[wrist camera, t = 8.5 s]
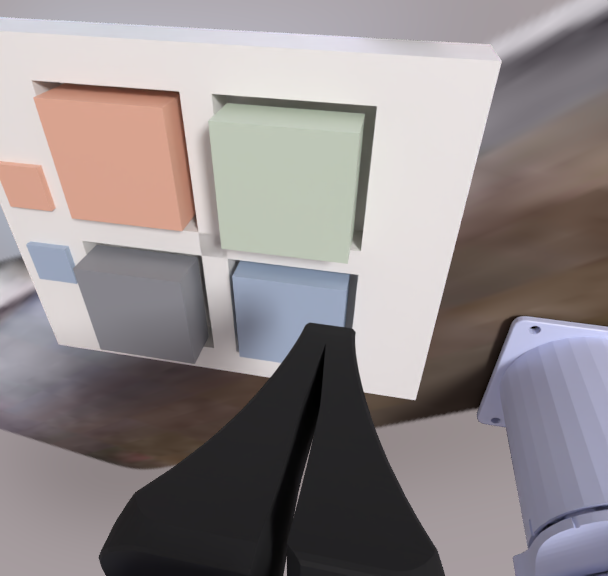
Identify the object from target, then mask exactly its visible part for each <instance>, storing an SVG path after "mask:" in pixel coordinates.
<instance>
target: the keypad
mask: <svg viewBox="0 0 608 576" xmlns="http://www.w3.org/2000/svg"><path fill="white" fill-rule="evenodd" d="M501 62H502V61H501V59H500V58H499V56H498V55H497V53H496V52H495V50H494V49H493V47H492V46H491V45H490V44H472V43H455V42H437V41H419V40H400V39H382V38H365V37H347V36H329V35H311V34H292V33H275V32H258V31H240V30H239V31H238V30H222V29H204V28H185V27H168V26H151V25H132V24H131V25H130V24H115V23H114V24H113V23H97V22H78V21H61V20H43V19H25V18H7V17H0V205H1V207H2V210H3V212H4V214H5V216H6V219H7V222H8V224H9V226H10V229H11V231H12V234H13V236H14V238H15V241H16V243H17V246H18V248H19V250H20V253H21V255H22V258H23V260H24V262H25V265H26V267H27V270H28V272H29V274H30V277H31V279H32V282H33V284H34V286H35V289H36V291H37V294H38V296H39V298H40V301H41V303H42V306H43V308H44V310H45V313H46V315H47V318H48V320H49V322H50V325H51V327H52V330H53V332H54V334H55V337H56V339H57V342H58V344H59V345H65V346H71V347H78V348H84V349H90V350H97V351H103V352H110V353H116V354H122V355H129V356H135V357H142V358H148V359H155V360H161V361H167V362H174V363H180V364H187V365H193V366H199V367H206V368H212V369H219V370H225V371H231V372H238V373H244V374H251V375H257V376H263V377H271V376H272V375H273V374H274V372H275V371H276V370H277V368H278V367H279V366H280V364H281V363H278V362H271V361H265V360H258V359H252V358H245V357H240V355H239V344H238V333H237V322H236V312H235V301H234V290H233V279H232V276H233V274H234V272H235V270H236V268H237V266H238V264H239V262H240V260H242V261H250V262H258V263H266V264H274V265H282V266H290V267H298V268H307V269H315V270H323V271H331V272H339V273H347V274H350V284H349V294H348V304H347V314H346V325H345V327H346V328H352V329H353V330H354V331H355V332H356V334H355V348H356V357H357V364H358V369H359V374H360V379H361V383H362V387H363V391H364V392H366V393H372V394H379V395H385V396H392V397H398V398H404V399H411V400H416V396H417V392H418V389H419V385H420V381H421V377H422V373H423V369H424V365H425V361H426V357H427V353H428V349H429V345H430V341H431V337H432V333H433V329H434V326H435V322H436V318H437V314H438V310H439V306H440V302H441V298H442V294H443V290H444V286H445V282H446V278H447V274H448V270H449V267H450V263H451V259H452V255H453V251H454V247H455V243H456V239H457V235H458V231H459V227H460V223H461V219H462V215H463V211H464V208H465V204H466V200H467V196H468V192H469V188H470V184H471V180H472V176H473V172H474V168H475V164H476V160H477V156H478V152H479V148H480V145H481V141H482V137H483V133H484V129H485V125H486V121H487V117H488V113H489V109H490V105H491V101H492V97H493V93H494V89H495V86H496V82H497V78H498V74H499V70H500V66H501ZM64 83H68V84H82V85H95V86H108V87H122V88H135V89H148V90H161V91H175V92H179V93H180V100H181V108H182V115H183V122H184V130H185V137H186V144H187V152H188V159H189V166H190V174H191V181H192V188H193V196H194V203H195V210H196V214H195V215H194V217H193V218H192V219H191V221H190V222H189V223H188V224H187V226H186V227H185V228H184V230H183V231H175V230H167V229H158V228H150V227H141V226H132V225H124V224H115V223H107V222H98V221H90V220H81V219H72V217H71V214H70V211H69V208H68V205H67V202H66V199H65V196H64V193H63V189H62V186H61V183H60V180H59V177H58V174H57V171H56V168H55V164H54V161H53V158H52V155H51V152H50V149H49V146H48V143H47V139H46V136H45V133H44V130H43V127H42V124H41V121H40V118H39V114H38V111H37V108H36V105H35V102H34V99H33V97H35V96H37V95H40V94H42V93H44V92H46V91H49V90H51V89H53V88H55V87H58V86H60V85H62V84H64ZM227 103H232V104H245V105H258V106H271V107H284V108H297V109H310V110H323V111H336V112H348V113H361V114H365V118H364V128H363V139H362V149H361V159H360V170H359V180H358V191H357V201H356V211H355V222H354V232H353V239H352V245H351V250H350V255H349V260H348V264H345V263H336V262H328V261H320V260H311V259H303V258H295V257H287V256H278V255H270V254H262V253H253V252H245V251H237V250H228V249H221V239H220V230H219V220H218V211H217V201H216V191H215V182H214V172H213V163H212V153H211V144H210V134H209V124H208V120H210V119H211V118H212V117H213V116H214V115H215V114H216V113H217V112H218V111H219V110H220V109H221V108H222V107H223V106H224V105H225V104H227ZM96 245H104V246H112V247H120V248H128V249H136V250H144V251H152V252H160V253H169V254H177V255H185V256H193V257H197V258H198V265H199V272H200V279H201V286H202V293H203V300H204V306H205V313H206V320H207V327H208V334H209V337H208V339H207V341H206V343H205V345H204V347H203V349H202V351H201V353H200V355H199V357H198V359H197V361H196V363H195V364H191V363H185V362H179V361H172V360H166V359H159V358H153V357H146V356H140V355H134V354H127V353H121V352H114V351H108V350H101V349H100V346H99V343H98V340H97V337H96V334H95V332H94V329H93V326H92V323H91V320H90V317H89V314H88V311H87V308H86V305H85V302H84V300H83V297H82V294H81V291H80V288H79V285H78V282H77V279H76V276H75V273H74V271H73V268H74V267H75V266H76V265H77V264H78V263H79V262H80V261H81V260H82V259H83V258H84V257H85V256H86V255H87V254H88V253H89V252H90V251H91V250H92V249H93V248H94V247H95V246H96Z"/></svg>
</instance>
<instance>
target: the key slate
mask: <svg viewBox="0 0 608 576" xmlns="http://www.w3.org/2000/svg"><path fill="white" fill-rule="evenodd" d="M232 279H233V290H234V301H235V312H236V322H237V333H238V344H239V355H240V357H245V358H252V359H258V360H265V361H271V362H278V363H282V362H283V360H284V359H285V358H286V356H287V355H288V353H289V352H290V350H291V349H292V347H293V346H294V344H295V343H296V341H297V340H298V338H299V336H300V334H301V333H302V331H303V329H304V327H305V325H306V324H308V323H309V322H310V323H317V324H325V325H332V326H339V327H345V325H346V314H347V304H348V294H349V284H350V274H347V273H339V272H331V271H323V270H315V269H307V268H298V267H290V266H282V265H274V264H266V263H258V262H250V261H242V260H240V262H239V264H238V266H237V268H236V270H235V272H234V274H233V276H232Z"/></svg>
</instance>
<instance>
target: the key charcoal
mask: <svg viewBox="0 0 608 576" xmlns="http://www.w3.org/2000/svg"><path fill="white" fill-rule="evenodd" d="M73 271H74V273H75V276H76V279H77V282H78V285H79V288H80V291H81V294H82V297H83V300H84V302H85V305H86V308H87V311H88V314H89V317H90V320H91V323H92V326H93V329H94V332H95V334H96V337H97V340H98V343H99V346H100V349H101V350H108V351H114V352H121V353H127V354H134V355H140V356H146V357H153V358H159V359H166V360H172V361H179V362H185V363H191V364H195V363H196V361H197V359H198V357H199V355H200V353H201V351H202V349H203V347H204V345H205V343H206V341H207V339H208V337H209V334H208V327H207V320H206V313H205V306H204V300H203V293H202V286H201V279H200V272H199V265H198V258H197V257H193V256H185V255H177V254H169V253H160V252H152V251H144V250H136V249H128V248H120V247H112V246H104V245H96V246H95V247H94V248H93V249H92V250H91V251H90V252H89V253H88V254H87V255H86V256H85V257H84V258H83V259H82V260H81V261H80V262H79V263H78V264H77V265H76V266H75V267H74V268H73Z"/></svg>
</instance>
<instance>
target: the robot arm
mask: <svg viewBox="0 0 608 576" xmlns="http://www.w3.org/2000/svg"><path fill="white" fill-rule="evenodd" d="M533 326H538V327H537V328H535V329H531V327H533ZM355 334H356V332H355V331H354V330H353V329H352V328H346V327H339V326H332V325H325V324H317V323H310V322H309V323H308V324H306V325H305V327H304V329H303V331H302V333H301V334H300V336H299V338H298V340H297V341H296V343H295V344H294V346H293V347H292V349H291V350H290V352H289V353H288V355H287V356H286V358H285V359H284V360H283V362H282V363H281V364H280V366H279V367H278V368H277V370H276V371H275V372H274V374H273V375H272V376H271V377H270V379H269V380H268V381H267V382H266V383H265V384H264V386H263V387H262V388H261V389H260V390H259V391H258V393H257V394H256V395H255V396H254V397H253V398H252V399H251V400H250V401H249V403H248V404H247V405H246V406H245V407H244V408H243V409H242V410H241V411H240V412H239V413H238V414H237V415H236V416H235V417H234V418H233V419H232V420H231V421H230V422H228V423H227V424H226V425H225V426H224V427H223V428H222V429H221V430H220V431H218V432H217V433H216V434H215V435H214V436H213V437H212V438H210V439H209V440H208V441H207V442H206V443H204V444H203V445H202V446H201V447H199V448H198V449H197V450H195V451H194V452H193V453H192V454H190V455H189V456H188V457H186V458H185V459H184V460H182V461H181V462H180V463H178V464H177V465H176V466H174V467H173V468H171V469H170V470H169V471H167V472H166V473H164V474H163V475H161V476H159V477H158V478H156V479H155V480H153V481H152V482H150V483H149V484H147V485H146V486H144V487H143V488H141V489H140V490H138V491H137V492H135V494H134V495H133V496H132V498H131V499H130V501H129V502H128V503H127V505H126V506H125V508H124V510H123V511H122V513H121V514H120V516H119V517H118V519H117V520H116V522H115V524H114V526H113V528H112V530H111V532H110V534H109V536H108V538H107V540H106V542H105V544H104V546H103V548H102V550H101V552H100V555H99V560H100V564H101V567H102V569H103V571H104V573H105V575H106V576H283V573H284V568H285V562H286V557H287V576H445V574H444V570H443V567H442V564H441V560H440V557H439V554H438V551H437V549H436V547H435V546H434V545H433V543H432V541H431V539H430V538H429V536H428V535H427V533H426V531H425V530H424V528H423V527H422V525H421V523H420V522H419V520H418V518H417V516H416V514H415V513H414V511H413V509H412V507H411V505H410V504H409V502H408V500H407V498H406V497H405V494H404V492H403V491H402V488H401V486H400V484H399V482H398V480H397V478H396V476H395V474H394V472H393V470H392V469H391V466H390V464H389V462H388V460H387V457H386V455H385V452H384V450H383V448H382V445H381V443H380V440H379V438H378V435H377V433H376V430H375V427H374V424H373V421H372V418H371V415H370V412H369V409H368V406H367V402H366V399H365V395H364V391H363V387H362V383H361V379H360V374H359V369H358V364H357V357H356V348H355ZM477 419H478V421H479V422H481V423H483V424H488V425H495V426H501V427H506V431H507V436H508V442H509V447H510V453H511V458H512V464H513V469H514V475H515V480H516V486H517V491H518V496H519V502H520V507H521V513H522V518H523V523H524V529H525V535H526V540H527V546H528V550H526V551H525V552H523V553H521V554H518V555H515V556H514V557H513V562H514V569H515V575H516V576H608V327H606V326H598V325H590V324H583V323H575V322H567V321H559V320H551V319H544V318H536V317H528V316H521V317H517V318H516V319H514V320H513V322H512V324H511V327H510V329H509V332H508V334H507V337H506V339H505V342H504V345H503V347H502V350H501V352H500V355H499V357H498V360H497V363H496V365H495V368H494V370H493V373H492V376H491V378H490V381H489V383H488V386H487V388H486V391H485V394H484V396H483V399H482V401H481V404H480V406H479V409H478V412H477ZM314 432H315V433H314ZM313 436H314V437H313ZM312 439H313V441H312ZM311 443H312V446H311ZM310 446H311V450H310ZM309 450H310V455H309V459H308V463H307V468H306V471H305V475H304V479H303V483H302V487H301V492H300V495H299V499H298V504H297V507H296V502H297V496H298V491H299V487H300V483H301V479H302V475H303V471H304V468H305V464H306V460H307V457H308V454H309ZM295 507H296V511H295ZM294 513H295V515H294Z"/></svg>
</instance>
